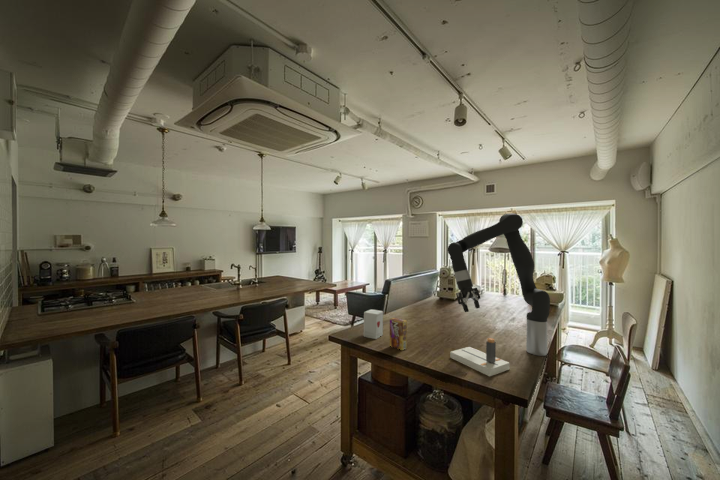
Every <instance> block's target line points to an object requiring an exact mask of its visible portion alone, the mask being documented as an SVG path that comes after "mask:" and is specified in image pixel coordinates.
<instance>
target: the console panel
mask: <svg viewBox="0 0 720 480" xmlns="http://www.w3.org/2000/svg"><path fill="white" fill-rule="evenodd" d="M449 354H450V355H449V356H450V357H449V358H450V359H453V360H454V361H457V362H458V363H461V364H463V365H464V366H466V367H469V368H471V369H473V370H475V371H477V372H479V373H481V374H483V375H486V376H488V377H493V376H495V375H497V374H501V373H503V372H506V371H509V370H510V368H511V367H510V362H509V361H507V360H504V359H501V358H499V357H497V356H495V362H493V363H489V362H487V361H486V352H484V351H482V350H479V349H476V348H473V347H471V346H466V347H462V348H459V349H455V350H451V351H450V353H449Z"/></svg>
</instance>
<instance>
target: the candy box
mask: <svg viewBox="0 0 720 480" xmlns="http://www.w3.org/2000/svg"><path fill="white" fill-rule="evenodd" d="M407 328H408V321H407V320H406V319H400V318H397V317H391V318H389V345H388V346H389V347H390V346H391V347H390V348H393V347H394V348H393V349H396V348H397V349H396V350H399V349H400V351H404V349H405V350H407V349H406V348H407V343H408V342H407V338H408V337H407V336H408V335H407V334H408V333H407V332H408V329H407Z"/></svg>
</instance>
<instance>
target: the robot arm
mask: <svg viewBox="0 0 720 480" xmlns="http://www.w3.org/2000/svg"><path fill="white" fill-rule="evenodd" d="M523 222H524V220H523V218H522V216H521V215H519V214H517V213H504V214H503V215H502V216H500V218H499V221H498V222H497V223H495V224H493V225H491V226H488V227H485V228H482V229H479V230H477V231H475V232H473V233H472V232H471V234H469V235H467V236H465V237H463V238H462V239H460V240H458V241H455V242H451V243H449V245H447V253H448V254H449V258H450V261H451V267H452V270H453V273H454V279H455V281H456V285H457V288H458V290H459V292H456V293H455V296H456V299H457V302H458V303H457V304H458V305H460V306H461V305H462V309H463V311H464V312H465V313H469V312H470V311H469V308H468V304H467V303H468V301H469V299H471V300H472V301H473V303H474V308H475V309H480V308H481V307H480V306H481V305H480V302H479V300H480V299H481V295H480V293H479V290H478V287H474V284H473V281H472V278H471V274H470V272H469V270H468V266H467V263H466V260H465V257H464V252H467V251H469V250H472V249H474V248H476V247H479V246H480V245H482V244H484V243H487V242H488V241H490V240H492V239H495V238H497V237H500V236H504V238H505V240H506V243H507V247H508V250H509V252H510V257H511V260H512V263H513V266H514V268H515V270H516V274H517V277H518V280H519V284H520V289H521V293H522V297H523V300H524V301H525V304H527V305H530V306H532V307H531V311H529V312H527V313H526V338H525V339H526V343H525V349H526V352H527V353H528V354H530V355H534V356H537V357H539V356H540V357H546V356H547V355H548V318H549V315H550V311H551V309H550V307H551V297H550V294H549V293H548V292H547V291H545V290H543V289H539V288H537V286H536V283H535V281H534V277H533V276H534V271H535V262H534V258H533V255H532V253H531V251H530V249H529V247H528V245H527V244H526V243H525V241H524V240H523V238H522V236H521V233H520V229H521V227H522V226H523V224H524V223H523Z"/></svg>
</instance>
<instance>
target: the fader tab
mask: <svg viewBox="0 0 720 480" xmlns="http://www.w3.org/2000/svg"><path fill="white" fill-rule="evenodd" d="M486 339H487V341H486V344H485V345H486V346H485V347H486V352H485V353H486V361H487V362H489V363H493V362H495V357H497V355H496V350H497V348H496V346H497V345H496V341H495V339H494V338H491V337H488V338H486Z"/></svg>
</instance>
